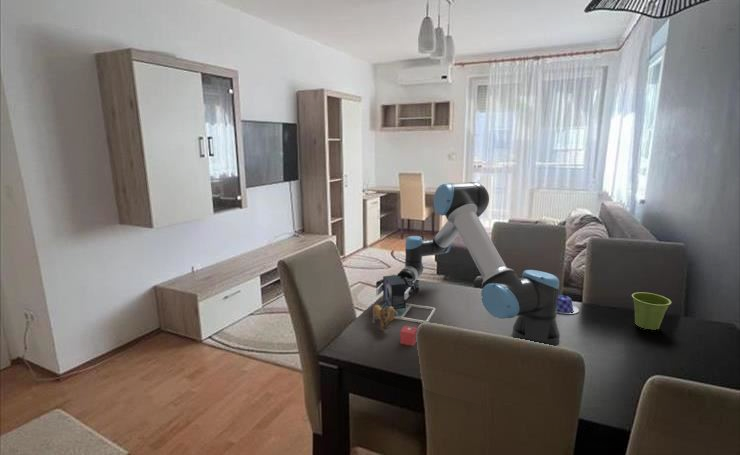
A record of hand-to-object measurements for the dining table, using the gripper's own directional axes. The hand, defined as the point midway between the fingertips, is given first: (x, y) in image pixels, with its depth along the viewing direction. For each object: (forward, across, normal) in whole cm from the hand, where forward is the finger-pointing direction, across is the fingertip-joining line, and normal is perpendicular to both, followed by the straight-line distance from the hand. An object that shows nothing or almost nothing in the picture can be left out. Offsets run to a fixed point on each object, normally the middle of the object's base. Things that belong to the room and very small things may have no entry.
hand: (391, 294), depth 158 cm
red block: (+19, -13, -8) cm, 24 cm away
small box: (-4, 0, -6) cm, 7 cm away
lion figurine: (+10, 0, -9) cm, 13 cm away
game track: (-4, -5, -8) cm, 11 cm away
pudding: (-31, -63, -9) cm, 71 cm away
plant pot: (-24, -91, -8) cm, 94 cm away
